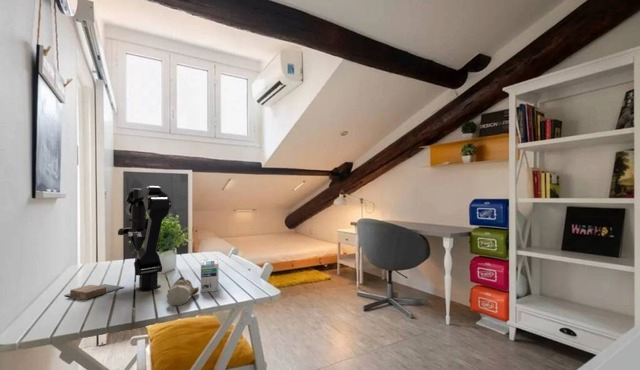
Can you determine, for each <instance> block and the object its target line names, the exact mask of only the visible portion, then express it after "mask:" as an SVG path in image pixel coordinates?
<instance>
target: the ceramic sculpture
mask: <svg viewBox="0 0 640 370" xmlns="http://www.w3.org/2000/svg"><path fill="white" fill-rule="evenodd" d="M199 290H200V289H199V286H197V287H194V286H193V284H192V282H191V280H189V279H187V278H186V279H185V278H184V277H182V276H181V277H179V278H178V279H177V280H175V282H174V283H173V285H172V286H171V287H170V289H168V290H167V294H166V299H167V302H168V304H170V305H171V306H181V305H184V304H186V303H187V302H188V301H189V300H190V296H195V295H197V293H198V292H199Z"/></svg>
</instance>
